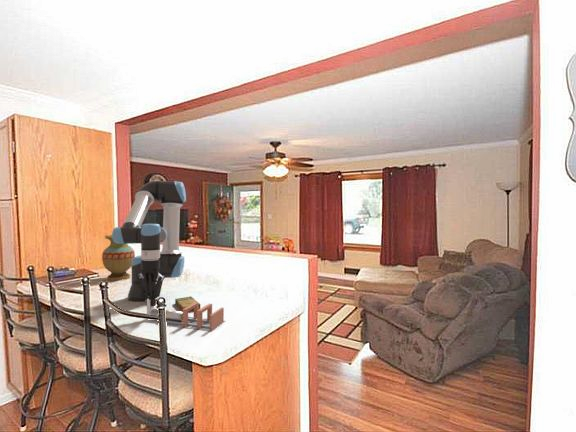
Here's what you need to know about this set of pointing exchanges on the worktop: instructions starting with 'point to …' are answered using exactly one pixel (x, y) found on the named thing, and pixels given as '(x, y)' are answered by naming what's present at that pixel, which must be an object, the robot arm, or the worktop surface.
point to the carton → (185, 303)
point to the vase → (117, 259)
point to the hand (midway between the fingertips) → (150, 313)
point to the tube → (170, 315)
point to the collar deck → (199, 318)
